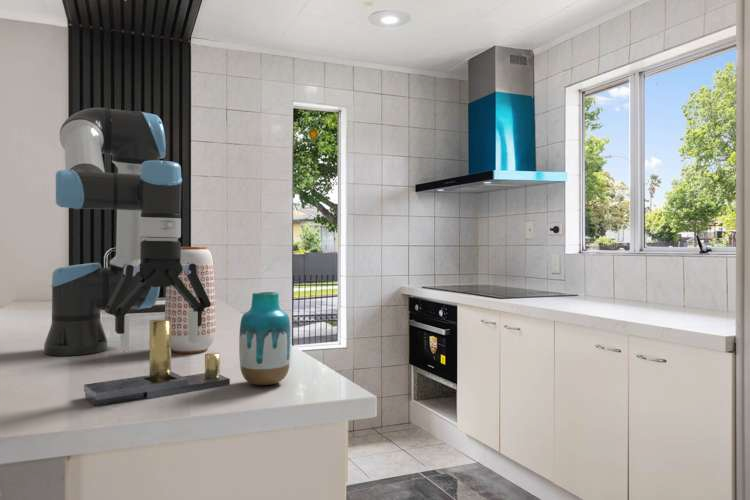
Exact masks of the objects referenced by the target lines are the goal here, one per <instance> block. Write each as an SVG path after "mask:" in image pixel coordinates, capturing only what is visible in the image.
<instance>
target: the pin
mask: <svg viewBox="0 0 750 500" xmlns="http://www.w3.org/2000/svg"><path fill="white" fill-rule="evenodd" d="M171 372H172V349H171V320H168V319H165V318H163V319H152V320H149V375H150V382H152V383H153V382H160V381H166V380H171Z"/></svg>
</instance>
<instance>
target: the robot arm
mask: <svg viewBox="0 0 750 500" xmlns="http://www.w3.org/2000/svg"><path fill="white" fill-rule="evenodd" d="M165 134H166V133H165V129H164V124H163V121H162V119H161V118H160V117H159V115H157V114H153V113H149V112H144V111H133V110H124V109H123V110H122V109H115V108H114V109H113V108H105V107H90V108H85V109H82V110H80V111H78V112H75V113H73V114H71V115H70V116H69V117H67V119H65V121H64V122H63V123H62V125H61V126H60V130H59V143H60V145H61V147H62V148H63V150H64V159H65V160H64V161H65V167H64V168H65V170H64V169H62V170H57V172H56V173H55V204H56V205H57V206H58V207H60V208H67V209H68V208H69V209H74V210H82V209H84V210H116V243H115V249H116V250H115V256H114V257H113V258H111V259H110V260H109V267H102V265H101V263H100V262H90V263H83V264H80V263H79V264H73V265H67V266H60V267H58V268H56V269H54V271H53V272H52V275H51V278H52V279H51V285H50V287H51V290H52V291H51V325H50V328H49V331H48V333H47V336H46V338H45V342H44V345H43V353H44V354H45V355H47V356H49V355H50V356H59V357H60V356H81V355H82V356H84V355H89V354H96V353H101V352H104V351H106V350H108V339H107V336H106V333H105V330H104V327H103V324H102V322H101V321H102V320H101V312H102V311H104V312H105V313H106V314H108V315H111V316H114V325H115V328H114V329H115V333H116V334H118V335H119V337H120V338H119V339H120V340H119V342H120V345H119V346H120V347H119V349H120V350H121V351H123V352H130V317H129V316H127V315H126V314H127V313H128V312H129V311H130V310H137V311H138V310H141V309H149V308H153V306H155V304H156V303H157V300H158V298H159V294H160V289H161V287H163V286H164V287H165V288H166V287H168V286H171V285H172V286H173V287H175V289H176V290H177V291H178V292H179V293H180V294H181V296H182V297H183V298H184V299H185V300H186V301H187V302H188V304H189V305H190V306H191V307H192V308H193V310H189V342H191V343H194V344H195V343H197V336H198V326H201V324H202V311H203V310H204V308H207V307H210V306H211V303H210V301H209V298H208V296H207V294H206V292H205V290H204V288H203V286H202V284H201V282H200V280H199V277H198V275H197V270H196V265H195V264H193V263H187V264H185V265H181V262H180V259H181V247H182V246H181V245H182V243H181V242H180V240H178V239H180V238H181V236H182V216H181V215H182V212H181V211H182V183H183V178H182V167H181V165H180V164H179V163H178V162H174V161H169V160H160V159H164V158H165V157H166V147H167V146H166V136H165ZM103 154H104V155H111V163H113V164H114V165H115V166H116V169H117V172H105V165H104V160H103V159H104V158H103ZM182 270H183V271H184V273H185V274H187V277H188V279H189V281H190V283H191V285H192V287H193V289H194V292H195V294H196V296H197V298H198V300H199V302H200V303H199V302H198V301H197V299H196V298H195V297H194V296H193V295H192V294H191V292H190V291H189V290H188V289H187V288H186V287H185V285H184V283H183V282H182V281H181V280H180V279H179V277H178V276H179V275H180V273H181V272H182Z"/></svg>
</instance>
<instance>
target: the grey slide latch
mask: <svg viewBox="0 0 750 500" xmlns="http://www.w3.org/2000/svg"><path fill="white" fill-rule="evenodd" d="M220 355H221V354H220V353H219V352H208V353H205V354H204V373H197V374H189V375H183V376H182V375H180V374H179V373H176V372H174V371H171V380H166V381H160V382H153V383H152V382H150V374H149V375H143V376H142V375H141V376H135V377H129V378H119V379H113V380H107V381H100V382H93V383H86V384H83V391H84V393H85V395H84V397H85V400H86V401H88V402H89V403H90V404H92V405H93V406H95V407H96V406H100V405H101V406H102V405H108V404H113V403H120V402H125V401H126V402H127V401H130V400H131V401H132V400H137V399H144V398H145V399H152V398H153V399H154V398H159V397H163V396H170V395H175V394H176V395H177V394H182V393H189V392H195V391H200V390H206V389H212V388H218V387H224V386H229V385H231V384H230V383H231V379H230V378H229V377H226V376H224V375H222V374H221V373H220V369H221V361H220V360H221V359H220V358H221V356H220Z"/></svg>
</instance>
